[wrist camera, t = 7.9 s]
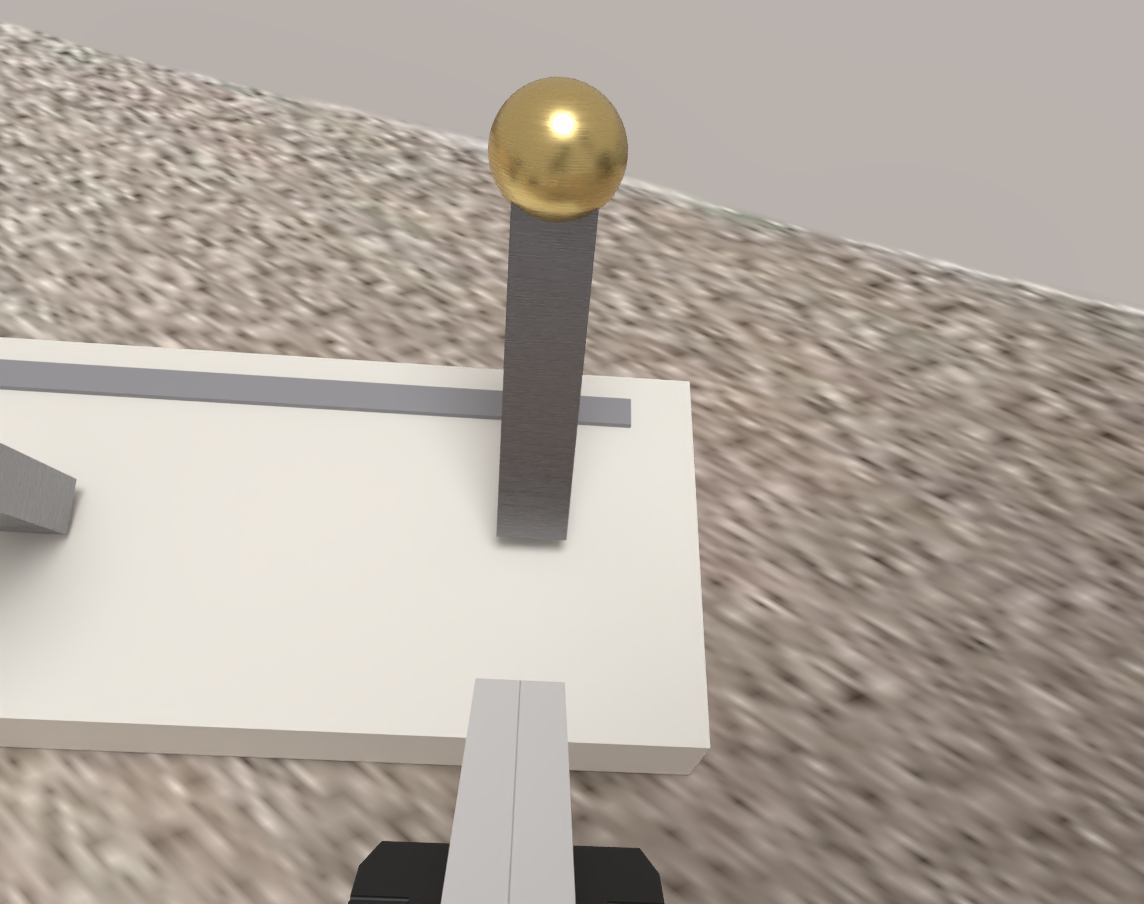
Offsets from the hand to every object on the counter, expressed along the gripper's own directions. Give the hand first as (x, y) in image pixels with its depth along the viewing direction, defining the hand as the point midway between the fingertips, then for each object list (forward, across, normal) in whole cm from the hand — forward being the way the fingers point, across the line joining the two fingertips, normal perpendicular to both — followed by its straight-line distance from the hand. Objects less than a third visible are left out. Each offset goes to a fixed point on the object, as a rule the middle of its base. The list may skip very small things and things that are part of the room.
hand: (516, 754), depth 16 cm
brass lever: (+12, 0, 0) cm, 12 cm away
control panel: (+14, -7, -2) cm, 16 cm away
